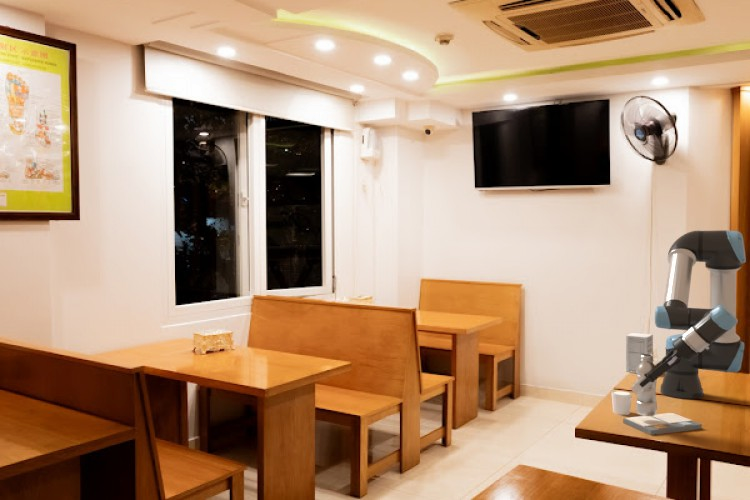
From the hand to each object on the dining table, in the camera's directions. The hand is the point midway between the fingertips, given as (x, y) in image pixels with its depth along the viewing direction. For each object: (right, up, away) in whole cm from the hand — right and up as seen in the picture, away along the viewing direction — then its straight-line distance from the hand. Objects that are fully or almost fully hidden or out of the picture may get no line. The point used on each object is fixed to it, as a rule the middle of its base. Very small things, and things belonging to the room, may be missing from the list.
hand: (634, 388), depth 210 cm
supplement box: (+33, -9, +76) cm, 83 cm away
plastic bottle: (+3, -9, -1) cm, 9 cm away
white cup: (+1, -12, +14) cm, 18 cm away
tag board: (+8, -12, -1) cm, 15 cm away
